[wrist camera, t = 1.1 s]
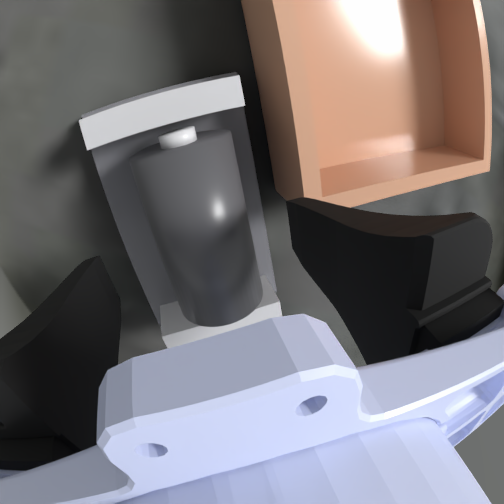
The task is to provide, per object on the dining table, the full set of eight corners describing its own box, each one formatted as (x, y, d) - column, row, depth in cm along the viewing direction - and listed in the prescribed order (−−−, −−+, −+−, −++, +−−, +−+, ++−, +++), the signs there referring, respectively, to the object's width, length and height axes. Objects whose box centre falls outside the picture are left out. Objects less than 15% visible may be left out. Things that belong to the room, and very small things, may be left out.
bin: (446, 153, 18) (489, 170, 15) (275, 190, 17) (306, 219, 13) (427, -24, 12) (472, -32, 9) (231, -44, 10) (253, -78, 7)
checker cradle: (271, 282, 19) (292, 318, 16) (159, 315, 18) (162, 357, 16) (232, 73, 13) (251, 67, 10) (86, 113, 12) (65, 120, 9)
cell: (242, 263, 17) (278, 302, 14) (172, 291, 16) (194, 339, 13) (209, 116, 13) (246, 120, 10) (122, 142, 12) (128, 154, 9)
